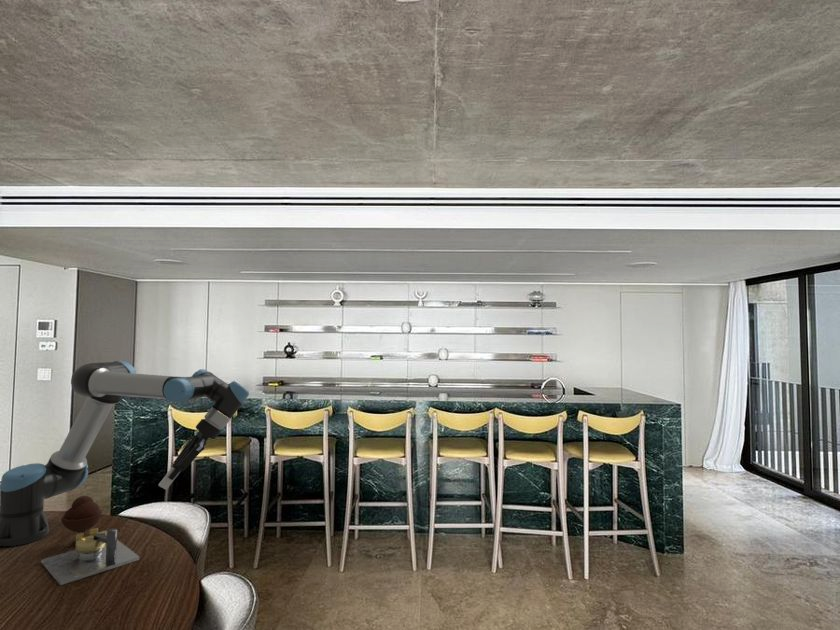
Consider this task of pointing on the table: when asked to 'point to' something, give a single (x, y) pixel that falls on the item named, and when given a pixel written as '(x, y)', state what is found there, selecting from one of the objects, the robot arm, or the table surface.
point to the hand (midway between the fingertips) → (162, 487)
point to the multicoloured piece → (98, 543)
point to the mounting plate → (85, 563)
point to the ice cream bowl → (81, 515)
